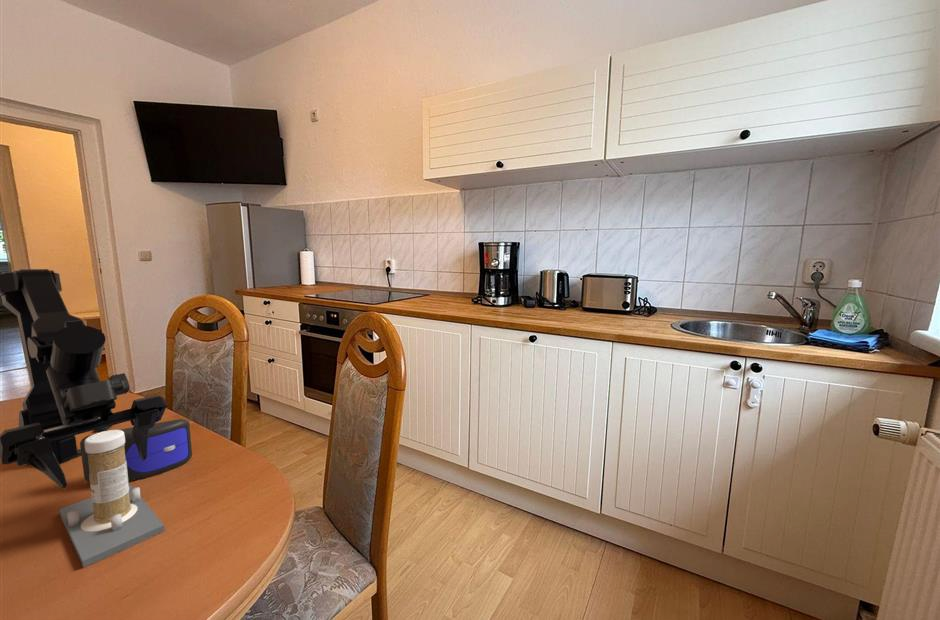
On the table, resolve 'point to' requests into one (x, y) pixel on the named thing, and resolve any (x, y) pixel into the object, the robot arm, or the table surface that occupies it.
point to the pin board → (109, 528)
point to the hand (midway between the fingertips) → (107, 472)
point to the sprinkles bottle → (108, 474)
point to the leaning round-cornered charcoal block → (153, 450)
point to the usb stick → (102, 429)
